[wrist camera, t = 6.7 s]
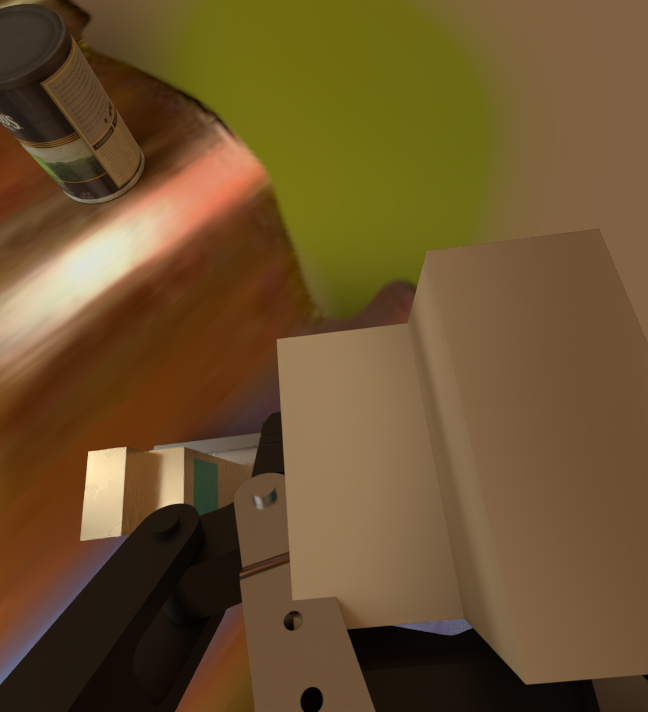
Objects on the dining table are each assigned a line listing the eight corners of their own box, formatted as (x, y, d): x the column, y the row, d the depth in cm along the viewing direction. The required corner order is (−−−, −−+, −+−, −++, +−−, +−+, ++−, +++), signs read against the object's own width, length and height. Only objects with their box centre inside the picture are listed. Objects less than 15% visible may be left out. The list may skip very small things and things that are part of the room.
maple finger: (335, 548, 15) (251, 707, 3) (325, 439, 17) (240, 275, 5) (445, 537, 15) (781, 661, 3) (424, 428, 17) (599, 228, 5)
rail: (166, 556, 32) (24, 596, 18) (169, 450, 35) (48, 417, 21) (440, 523, 31) (504, 540, 18) (418, 418, 34) (460, 363, 20)
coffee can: (85, 220, 45) (-28, 102, 31) (47, 169, 48) (-70, 42, 35) (162, 170, 46) (84, 38, 33) (120, 124, 50) (34, -13, 36)
